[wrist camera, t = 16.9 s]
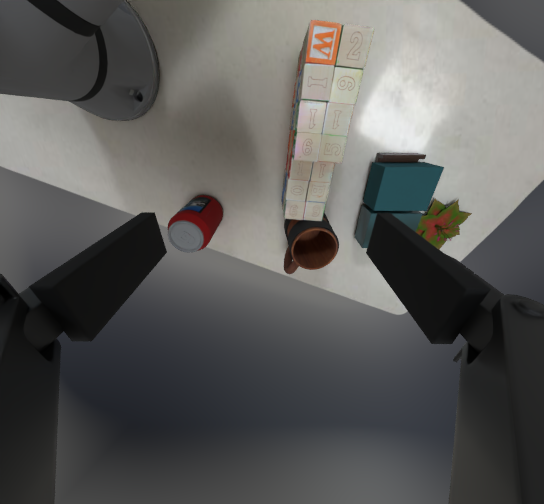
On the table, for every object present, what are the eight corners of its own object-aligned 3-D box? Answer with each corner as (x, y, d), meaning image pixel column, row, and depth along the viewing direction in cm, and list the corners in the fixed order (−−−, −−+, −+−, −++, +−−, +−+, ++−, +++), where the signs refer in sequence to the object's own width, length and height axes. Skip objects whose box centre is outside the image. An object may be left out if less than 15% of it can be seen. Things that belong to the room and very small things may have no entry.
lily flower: (437, 255, 47) (452, 267, 43) (392, 240, 45) (404, 251, 41) (481, 207, 41) (503, 216, 37) (432, 187, 39) (449, 194, 35)
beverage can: (203, 186, 40) (178, 207, 29) (230, 210, 42) (216, 238, 32) (183, 210, 42) (154, 237, 32) (210, 231, 45) (191, 263, 34)
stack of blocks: (312, 203, 41) (325, 230, 31) (281, 200, 41) (283, 227, 30) (340, 60, 30) (376, 25, 20) (298, 55, 30) (310, 16, 19)
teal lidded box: (371, 153, 36) (385, 157, 32) (423, 153, 36) (445, 157, 32) (352, 239, 45) (361, 252, 40) (393, 239, 45) (407, 252, 40)
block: (372, 162, 36) (385, 167, 32) (424, 162, 36) (444, 167, 32) (363, 201, 40) (373, 210, 36) (410, 201, 40) (426, 210, 35)
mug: (267, 240, 45) (265, 271, 35) (300, 194, 40) (309, 214, 30) (299, 259, 47) (306, 293, 37) (334, 217, 42) (353, 243, 32)
